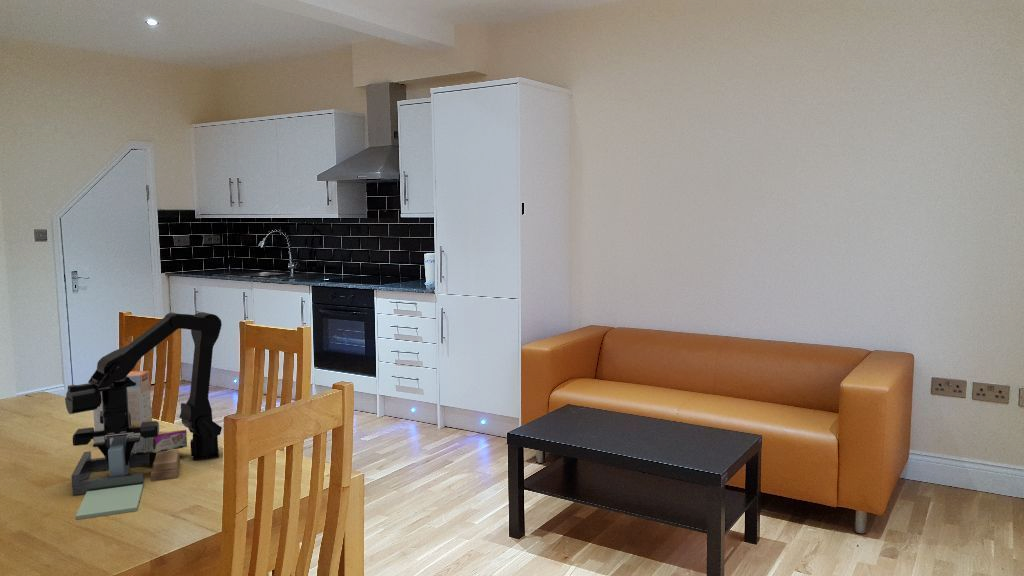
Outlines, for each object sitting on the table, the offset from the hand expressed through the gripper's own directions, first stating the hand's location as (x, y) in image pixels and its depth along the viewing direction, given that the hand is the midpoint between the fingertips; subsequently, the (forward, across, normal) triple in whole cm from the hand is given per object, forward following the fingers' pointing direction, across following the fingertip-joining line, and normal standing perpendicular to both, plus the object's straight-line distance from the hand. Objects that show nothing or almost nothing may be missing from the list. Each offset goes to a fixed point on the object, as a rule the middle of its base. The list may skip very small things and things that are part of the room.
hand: (119, 465), depth 182 cm
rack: (+3, +2, 0) cm, 3 cm away
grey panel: (+3, 0, 0) cm, 3 cm away
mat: (+3, 0, +17) cm, 17 cm away
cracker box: (+3, +2, -30) cm, 30 cm away
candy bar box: (0, 0, -19) cm, 19 cm away
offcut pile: (+3, -10, 0) cm, 11 cm away
